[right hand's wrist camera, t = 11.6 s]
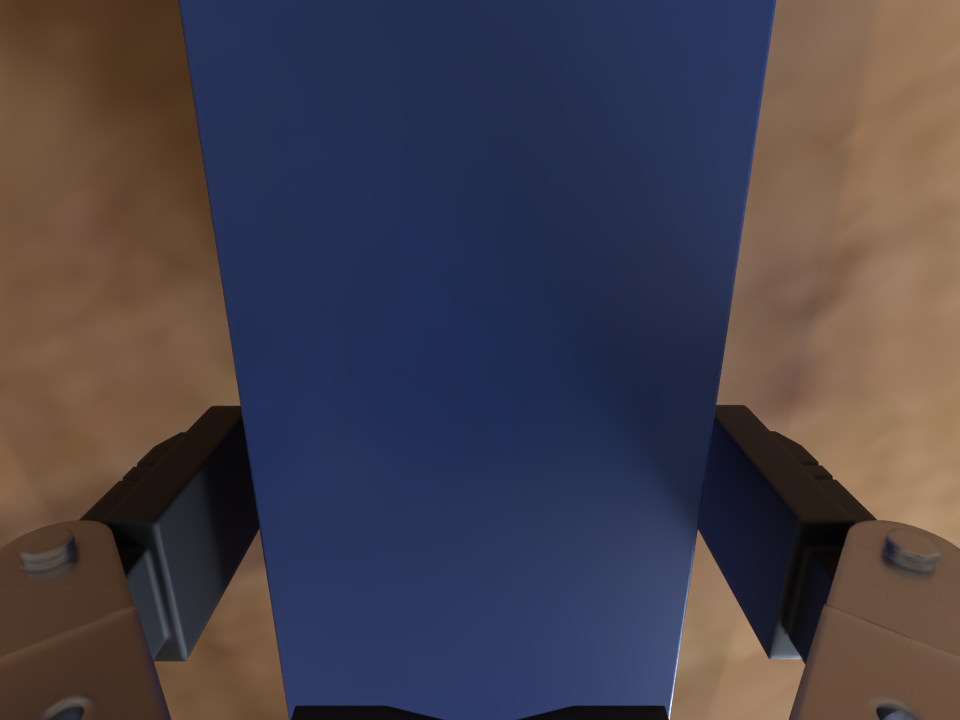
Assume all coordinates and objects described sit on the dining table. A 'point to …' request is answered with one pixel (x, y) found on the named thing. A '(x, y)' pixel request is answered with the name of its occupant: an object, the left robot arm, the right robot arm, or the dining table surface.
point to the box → (478, 329)
